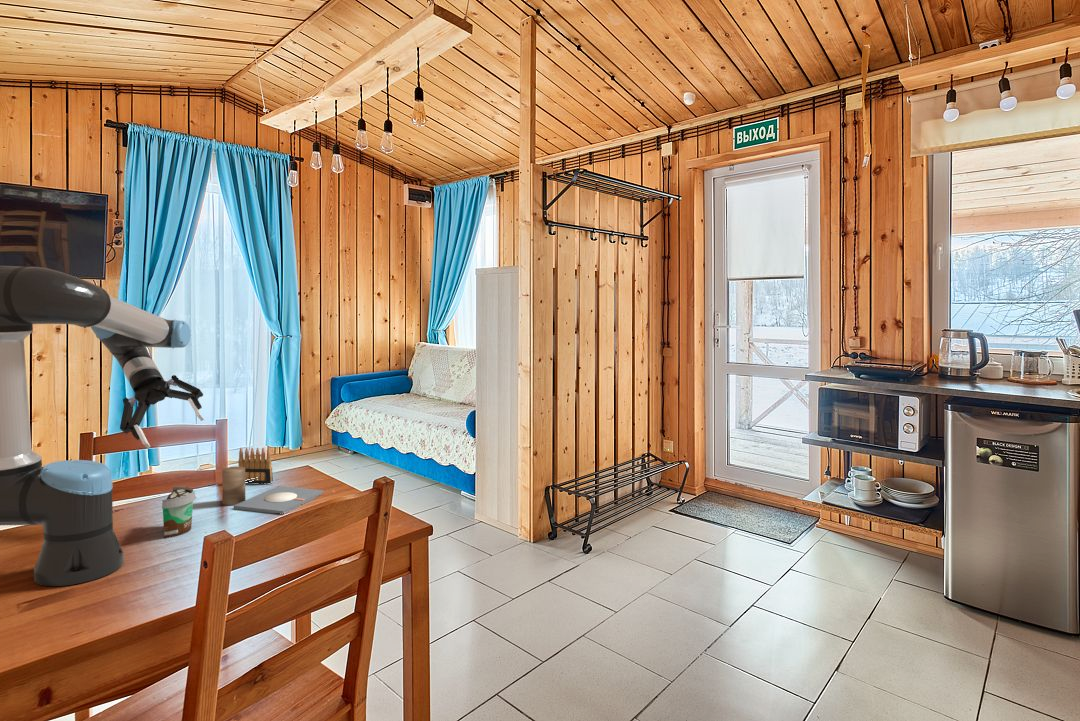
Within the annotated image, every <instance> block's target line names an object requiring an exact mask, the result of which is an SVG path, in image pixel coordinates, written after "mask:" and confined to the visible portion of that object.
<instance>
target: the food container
mask: <svg viewBox="0 0 1080 721" xmlns="http://www.w3.org/2000/svg"><path fill="white" fill-rule="evenodd" d="M196 499H197V497H196V493H195V491H194V489H193V488H191V487H189V486H172V491H171V493H169V494H168V495H167V498H166V499H162V501H161V502H162V503H161V509H162V519H163V520H162V522H163V538H164V539H169V537H170V538H174V537H179V536H181V535H184V534H186V533H189V532H190V531H191V530H192V523H193V508H194V502H195V500H196Z"/></svg>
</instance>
